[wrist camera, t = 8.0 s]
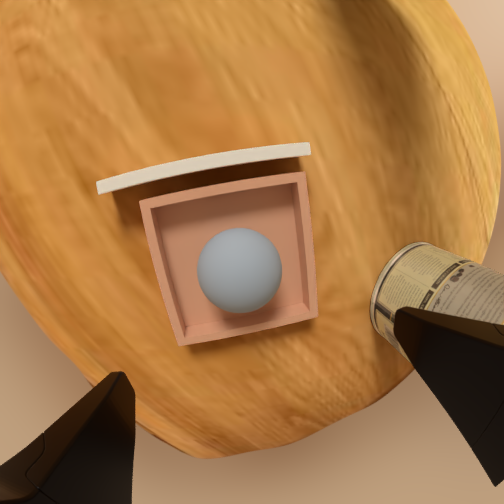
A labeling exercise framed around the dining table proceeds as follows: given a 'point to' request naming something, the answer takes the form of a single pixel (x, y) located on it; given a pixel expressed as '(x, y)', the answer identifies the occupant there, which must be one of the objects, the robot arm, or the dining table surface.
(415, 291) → the coffee can
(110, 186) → the wall
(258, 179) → the dish
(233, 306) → the ball
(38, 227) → the dining table surface
